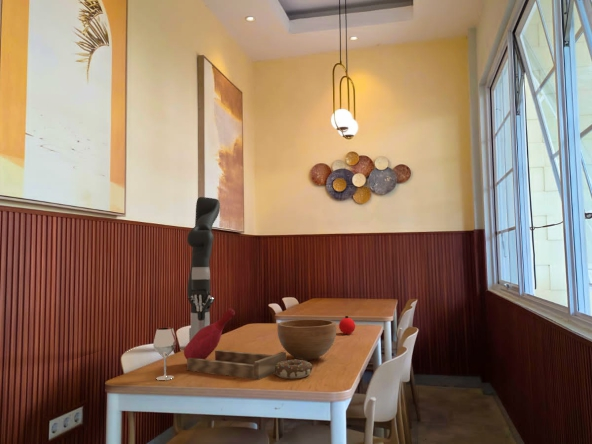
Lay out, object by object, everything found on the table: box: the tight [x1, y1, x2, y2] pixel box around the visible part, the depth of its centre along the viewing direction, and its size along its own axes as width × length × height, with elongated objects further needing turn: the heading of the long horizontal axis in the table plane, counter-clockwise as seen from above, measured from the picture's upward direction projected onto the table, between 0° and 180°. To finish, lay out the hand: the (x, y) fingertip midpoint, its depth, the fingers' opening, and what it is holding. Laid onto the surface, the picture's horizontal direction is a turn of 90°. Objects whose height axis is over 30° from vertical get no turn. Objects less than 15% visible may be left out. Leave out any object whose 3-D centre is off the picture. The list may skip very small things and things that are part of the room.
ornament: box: [338, 315, 356, 335], centre depth 257 cm, size 9×9×10 cm
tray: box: [186, 349, 287, 381], centre depth 181 cm, size 34×19×6 cm, turn 60°
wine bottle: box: [183, 307, 236, 360], centre depth 186 cm, size 10×10×30 cm
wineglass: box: [153, 326, 178, 381], centre depth 170 cm, size 8×8×18 cm
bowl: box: [277, 318, 337, 361], centre depth 196 cm, size 25×25×15 cm
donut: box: [274, 358, 314, 380], centre depth 170 cm, size 14×14×5 cm
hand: (201, 320), depth 191 cm, fingers closed
